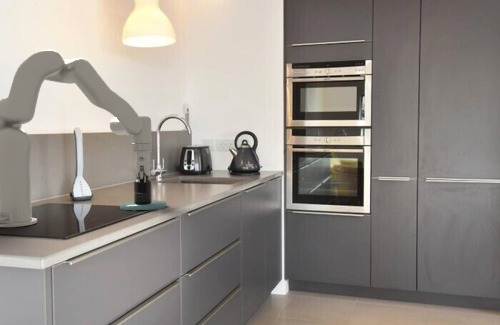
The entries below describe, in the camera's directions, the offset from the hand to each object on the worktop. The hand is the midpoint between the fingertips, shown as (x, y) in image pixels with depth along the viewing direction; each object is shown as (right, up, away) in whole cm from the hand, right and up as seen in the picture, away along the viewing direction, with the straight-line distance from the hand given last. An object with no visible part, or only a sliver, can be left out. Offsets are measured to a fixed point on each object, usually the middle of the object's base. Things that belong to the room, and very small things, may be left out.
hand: (143, 191), depth 198 cm
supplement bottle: (0, -5, 0) cm, 5 cm away
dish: (0, -6, 0) cm, 6 cm away
